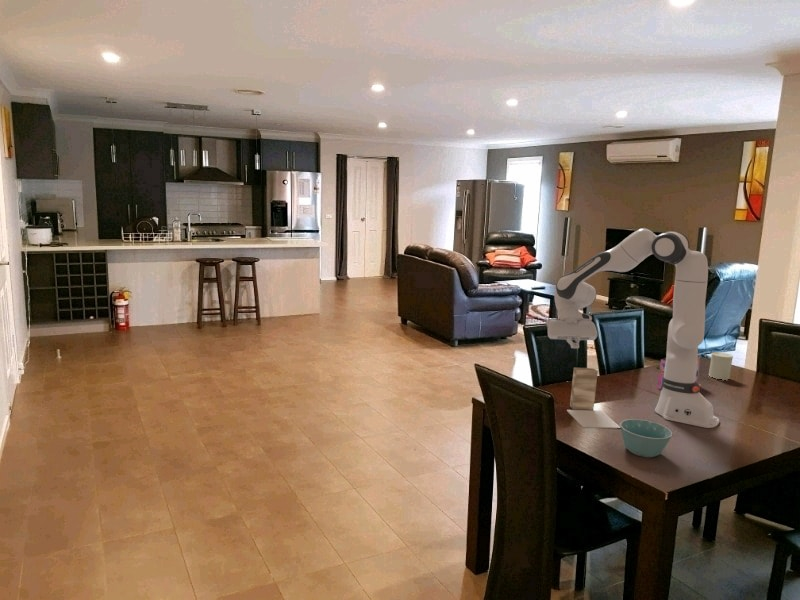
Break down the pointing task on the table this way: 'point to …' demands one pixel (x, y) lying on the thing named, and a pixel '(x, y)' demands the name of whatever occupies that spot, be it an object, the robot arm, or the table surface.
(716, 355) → the can
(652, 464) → the table surface
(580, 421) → the mat
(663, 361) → the gum box
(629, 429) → the bowl
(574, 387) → the birch block
